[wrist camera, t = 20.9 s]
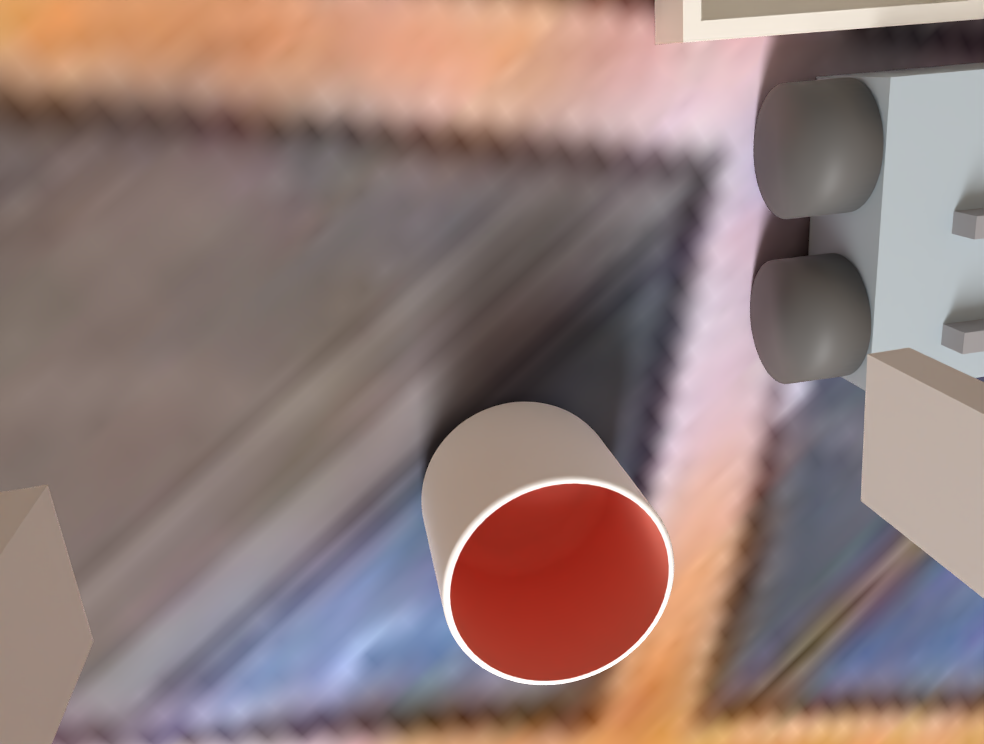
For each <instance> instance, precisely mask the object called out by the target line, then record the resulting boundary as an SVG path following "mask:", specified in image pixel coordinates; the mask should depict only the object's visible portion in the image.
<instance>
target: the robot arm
mask: <svg viewBox="0 0 984 744" xmlns="http://www.w3.org/2000/svg"><path fill="white" fill-rule="evenodd" d="M861 501H862V502H863V503H864V504H866V505H867V506H868V507H869V508H871V509H872V510H873V511H874V512H876V513H877V514H878V515H879V516H881V517H882V518H883V519H885V520H886V521H887V522H888V523H890V524H891V525H892V526H893V527H895V528H896V529H897V530H898V531H900V532H901V533H902V534H903V535H905V536H906V537H907V538H908V539H910V540H911V541H912V542H913V543H915V544H916V545H917V546H919V547H920V548H921V549H922V550H924V551H925V552H926V553H927V554H929V555H930V556H931V557H932V558H934V559H935V560H936V561H937V562H939V563H940V564H941V565H942V566H944V567H945V568H946V569H947V570H949V571H950V572H951V573H952V574H954V575H955V576H956V577H958V578H959V579H960V580H961V581H963V582H964V583H965V584H966V585H968V586H969V587H970V588H971V589H973V590H974V591H975V592H976V593H978V594H979V595H980V596H981V597H983V598H984V382H982V381H980V380H978V379H976V378H973V377H971V376H969V375H967V374H965V373H963V372H961V371H958V370H956V369H954V368H952V367H950V366H948V365H946V364H944V363H941V362H939V361H937V360H935V359H933V358H931V357H929V356H926V355H924V354H922V353H920V352H918V351H916V350H914V349H911V348H903V349H897V350H890V351H884V352H878V353H871V354H867V372H866V395H865V418H864V441H863V464H862V487H861ZM92 644H93V638H92V634H91V631H90V627H89V624H88V621H87V617H86V614H85V610H84V607H83V604H82V600H81V597H80V593H79V590H78V587H77V583H76V580H75V576H74V573H73V570H72V566H71V563H70V559H69V556H68V553H67V549H66V546H65V542H64V539H63V535H62V532H61V529H60V525H59V522H58V518H57V515H56V512H55V508H54V505H53V501H52V498H51V495H50V491H49V488H48V485H43V486H36V487H30V488H24V489H18V490H11V491H5V492H0V744H52V742H53V739H54V737H55V734H56V732H57V729H58V727H59V724H60V722H61V720H62V717H63V715H64V712H65V710H66V707H67V705H68V702H69V700H70V697H71V695H72V693H73V690H74V688H75V685H76V683H77V680H78V678H79V675H80V673H81V671H82V668H83V666H84V663H85V661H86V658H87V656H88V653H89V651H90V648H91V646H92Z"/></svg>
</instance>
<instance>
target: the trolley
mask: <svg viewBox="0 0 984 744" xmlns="http://www.w3.org/2000/svg"><path fill="white" fill-rule="evenodd" d="M754 166H755V173H756V178H757V183H758V186H759V190H760V192H761V195H762V197H763V200H764V202H765V203H766V205H767V207H768V208H769V209H770V211H771V212H772V213H773V214H774V215H776V216H777V217H779V218H781V219H793V218H802V217H810V231H809V255H808V256H801V257H792V258H784V259H775V260H770V261H768V262H766V263H765V264H763V265H762V267H761V268H760V269H759V271H758V273H757V275H756V277H755V280H754V283H753V287H752V292H751V302H750V318H751V328H752V334H753V339H754V343H755V346H756V350H757V352H758V355H759V358H760V360H761V362H762V364H763V366H764V367H765V369H766V371H767V372H768V373H769V374H770V376H771V377H772V378H773V379H775V380H776V381H778V382H779V383H783V384H790V383H798V382H805V381H812V380H819V379H826V378H834V377H843V378H844V379H846V380H848V381H850V382H851V383H853V384H855V385H856V386H858V387H860V388H861V389H863V390H865V391H866V372H867V354H871V353H878V352H884V351H890V350H897V349H903V348H911V349H914V350H916V351H918V352H920V353H922V354H924V355H926V356H929V357H931V358H933V359H935V360H937V361H939V362H941V363H944V364H946V365H948V366H950V367H952V368H954V369H956V370H958V371H961V372H963V373H965V374H967V375H969V376H971V377H973V378H977V377H984V62H981V63H970V64H958V65H947V66H935V67H923V68H912V69H900V70H889V71H877V72H865V73H854V74H842V75H831V76H819V77H816V80H811V81H799V82H788V83H781V84H778V85H776V86H775V87H774V88H773V89H772V90H771V91H770V92H769V93H768V95H767V96H766V98H765V99H764V101H763V103H762V106H761V108H760V111H759V114H758V118H757V122H756V128H755V135H754Z"/></svg>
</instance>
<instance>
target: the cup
mask: <svg viewBox="0 0 984 744" xmlns="http://www.w3.org/2000/svg"><path fill="white" fill-rule="evenodd" d="M421 500H422V513H423V519H424V524H425V528H426V533H427V537H428V542H429V546H430V551H431V555H432V560H433V564H434V569H435V573H436V578H437V582H438V587H439V591H440V596H441V600H442V605H443V610H444V614H445V617H446V621H447V624H448V626H449V629H450V631H451V633H452V635H453V637H454V638H455V640H456V642H457V643H458V644H459V646H460V647H461V648H462V650H463V651H464V652H465V653H466V654H467V655H468V656H469V657H470V658H471V659H472V660H473V661H474V662H476V663H477V664H478V665H480V666H481V667H482V668H484V669H486V670H488V671H489V672H491V673H493V674H495V675H497V676H500V677H502V678H505V679H508V680H511V681H515V682H520V683H525V684H534V685H554V684H562V683H568V682H573V681H577V680H581V679H584V678H587V677H590V676H592V675H595V674H597V673H600V672H602V671H603V670H605V669H607V668H609V667H611V666H613V665H614V664H616V663H618V662H619V661H621V660H622V659H623V658H625V657H626V656H627V655H629V654H630V653H631V652H632V651H633V650H634V649H636V648H637V647H638V646H639V645H640V644H641V643H642V642H643V641H644V639H645V638H646V637H647V636H648V635H649V633H650V632H651V631H652V630H653V628H654V627H655V625H656V624H657V622H658V621H659V619H660V617H661V615H662V613H663V611H664V609H665V607H666V605H667V602H668V599H669V596H670V593H671V589H672V584H673V578H674V557H673V550H672V544H671V541H670V538H669V535H668V532H667V530H666V528H665V526H664V524H663V522H662V520H661V519H660V517H659V516H658V514H657V513H656V512H655V510H654V509H653V508H652V506H651V505H650V504H649V502H648V501H647V500H646V498H645V497H644V496H643V494H642V493H641V492H640V490H639V489H638V488H637V486H636V485H635V484H634V482H633V481H632V480H631V478H630V477H629V476H628V474H627V473H626V472H625V470H624V469H623V468H622V466H621V465H620V464H619V462H618V461H617V460H616V458H615V457H614V456H613V455H612V453H611V452H610V451H609V449H608V448H607V447H606V445H605V444H604V443H603V441H602V440H601V439H600V437H599V436H598V435H597V434H596V432H595V431H594V430H593V429H592V428H591V427H590V426H589V425H588V424H587V423H585V422H584V421H583V420H581V419H580V418H579V417H577V416H575V415H574V414H572V413H570V412H568V411H566V410H564V409H561V408H559V407H556V406H553V405H549V404H545V403H538V402H511V403H505V404H501V405H497V406H494V407H491V408H488V409H485V410H483V411H481V412H479V413H477V414H475V415H473V416H471V417H470V418H468V419H466V420H465V421H464V422H462V423H461V424H460V425H458V426H457V427H456V428H455V429H454V430H453V431H452V432H451V433H450V434H449V435H448V436H447V437H446V438H445V439H444V440H443V442H442V443H441V444H440V446H439V447H438V449H437V450H436V452H435V453H434V455H433V457H432V459H431V461H430V463H429V465H428V468H427V471H426V474H425V477H424V481H423V487H422V498H421Z"/></svg>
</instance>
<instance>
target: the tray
mask: <svg viewBox="0 0 984 744" xmlns="http://www.w3.org/2000/svg"><path fill="white" fill-rule="evenodd" d="M983 18H984V0H655V45H660V44H673V43H685V42H698V41H711V40H723V39H736V38H749V37H761V36H774V35H787V34H800V33H812V32H825V31H838V30H850V29H863V28H876V27H888V26H901V25H914V24H926V23H939V22H951V21H963V20H975V19H983Z"/></svg>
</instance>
